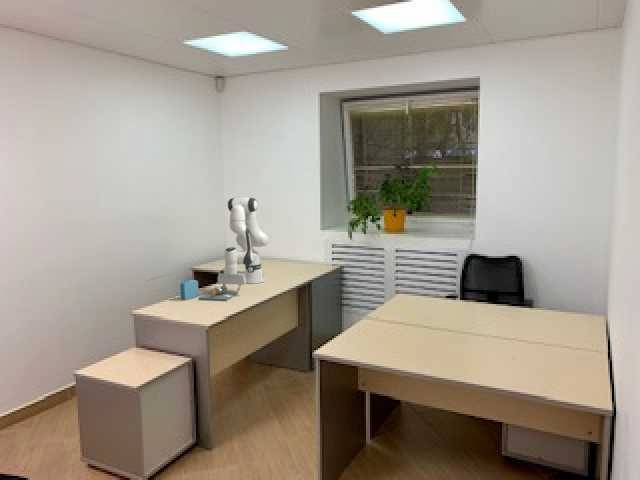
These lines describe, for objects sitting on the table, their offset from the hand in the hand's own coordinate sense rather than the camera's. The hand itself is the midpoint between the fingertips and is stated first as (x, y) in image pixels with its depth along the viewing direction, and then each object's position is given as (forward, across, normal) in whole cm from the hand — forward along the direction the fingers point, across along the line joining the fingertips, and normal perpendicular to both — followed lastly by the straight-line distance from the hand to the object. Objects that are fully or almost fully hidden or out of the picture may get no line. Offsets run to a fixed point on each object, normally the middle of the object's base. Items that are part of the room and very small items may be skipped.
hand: (232, 290), depth 343 cm
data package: (+4, +26, +13) cm, 29 cm away
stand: (+4, +8, +5) cm, 10 cm away
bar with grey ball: (+2, +8, +5) cm, 10 cm away
